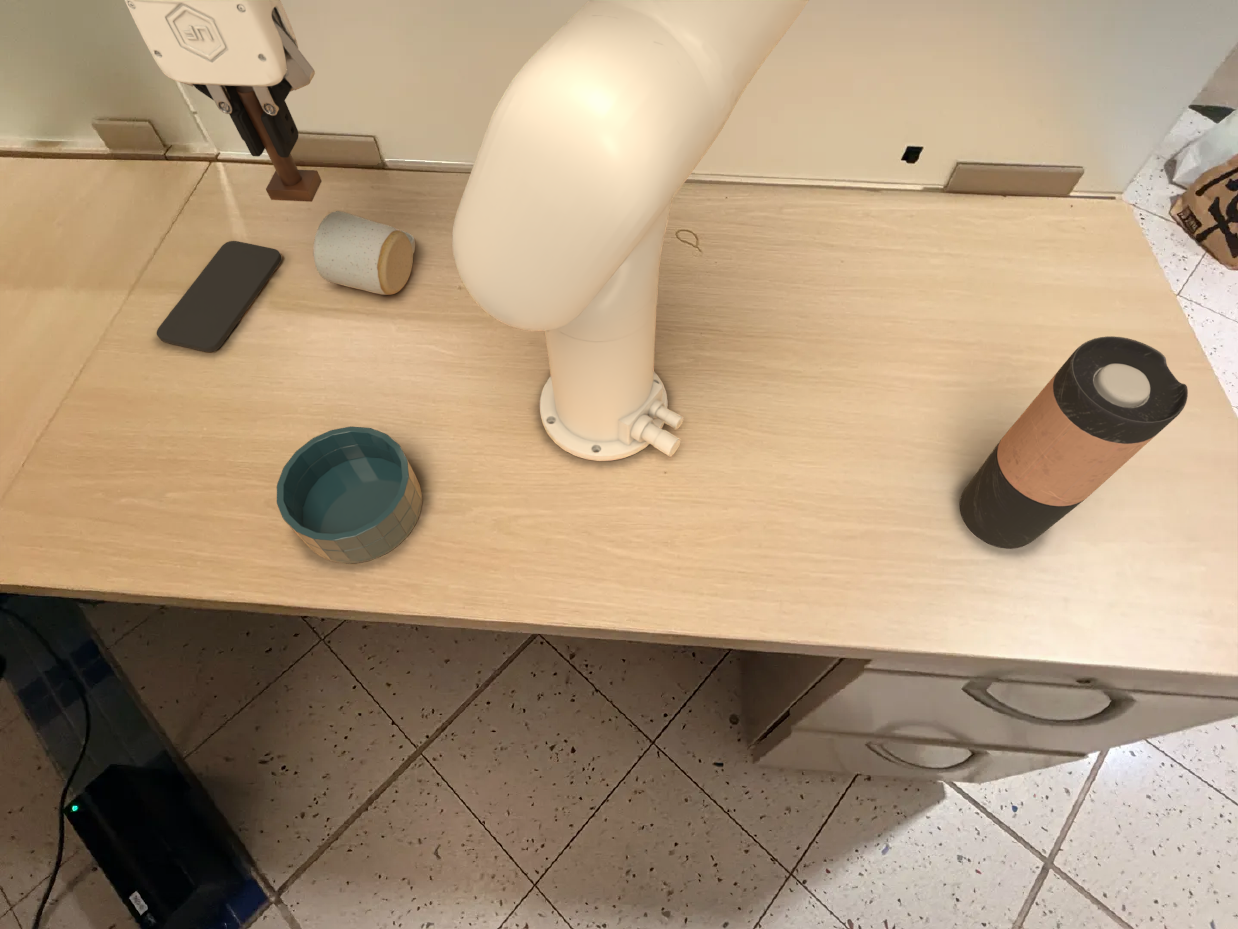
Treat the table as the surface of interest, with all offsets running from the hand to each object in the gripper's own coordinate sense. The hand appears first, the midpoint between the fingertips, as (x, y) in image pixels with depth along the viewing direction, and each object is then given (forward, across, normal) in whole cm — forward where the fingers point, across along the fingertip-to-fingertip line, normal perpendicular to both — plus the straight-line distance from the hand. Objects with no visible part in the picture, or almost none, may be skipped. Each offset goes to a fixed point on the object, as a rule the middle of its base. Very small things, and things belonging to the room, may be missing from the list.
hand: (275, 145), depth 65 cm
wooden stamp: (+5, 0, 0) cm, 5 cm away
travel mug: (+20, +67, -20) cm, 73 cm away
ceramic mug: (+19, +2, +4) cm, 20 cm away
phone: (+19, -14, -1) cm, 23 cm away
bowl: (+19, +9, -25) cm, 33 cm away
